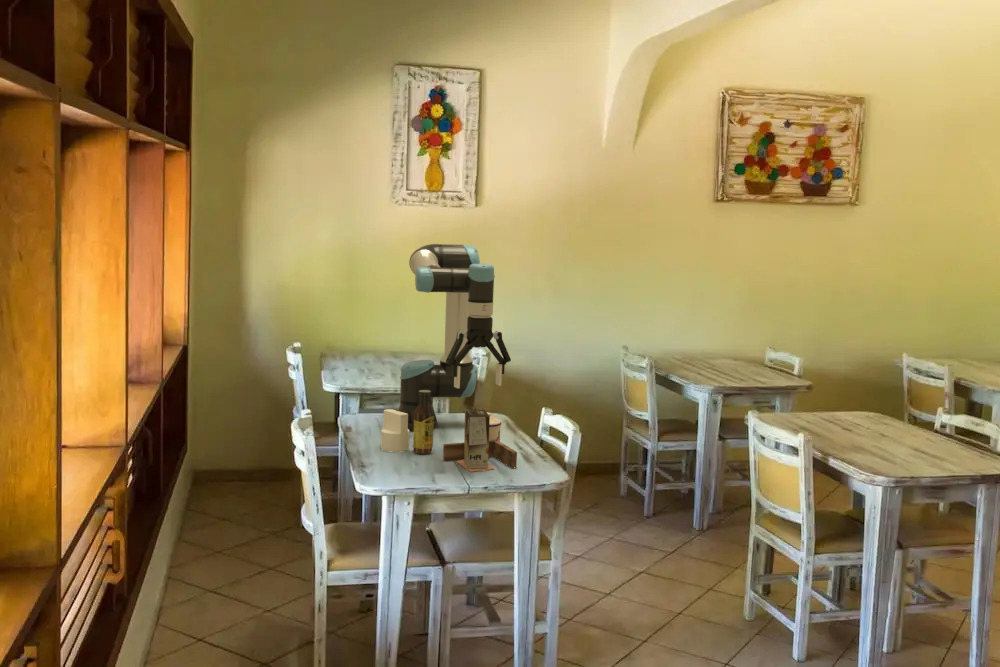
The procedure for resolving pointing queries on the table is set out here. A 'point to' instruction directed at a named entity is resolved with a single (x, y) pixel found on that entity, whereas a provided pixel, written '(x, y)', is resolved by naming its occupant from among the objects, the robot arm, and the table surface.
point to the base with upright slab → (395, 431)
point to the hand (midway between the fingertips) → (477, 386)
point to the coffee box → (476, 439)
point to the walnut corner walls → (495, 449)
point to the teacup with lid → (494, 428)
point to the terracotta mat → (474, 468)
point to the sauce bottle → (423, 424)
